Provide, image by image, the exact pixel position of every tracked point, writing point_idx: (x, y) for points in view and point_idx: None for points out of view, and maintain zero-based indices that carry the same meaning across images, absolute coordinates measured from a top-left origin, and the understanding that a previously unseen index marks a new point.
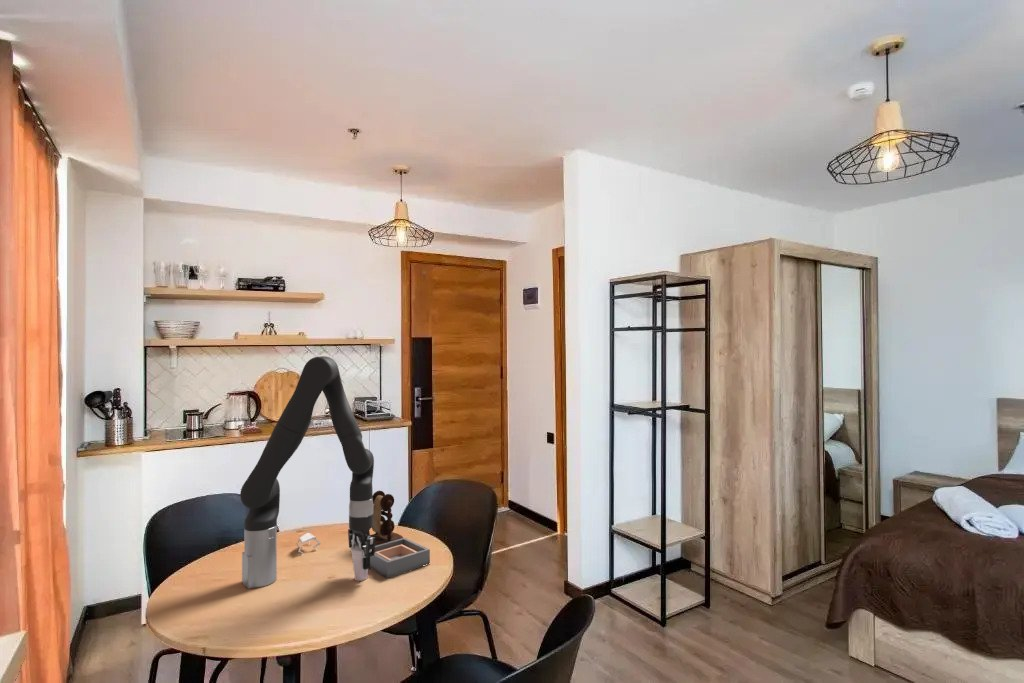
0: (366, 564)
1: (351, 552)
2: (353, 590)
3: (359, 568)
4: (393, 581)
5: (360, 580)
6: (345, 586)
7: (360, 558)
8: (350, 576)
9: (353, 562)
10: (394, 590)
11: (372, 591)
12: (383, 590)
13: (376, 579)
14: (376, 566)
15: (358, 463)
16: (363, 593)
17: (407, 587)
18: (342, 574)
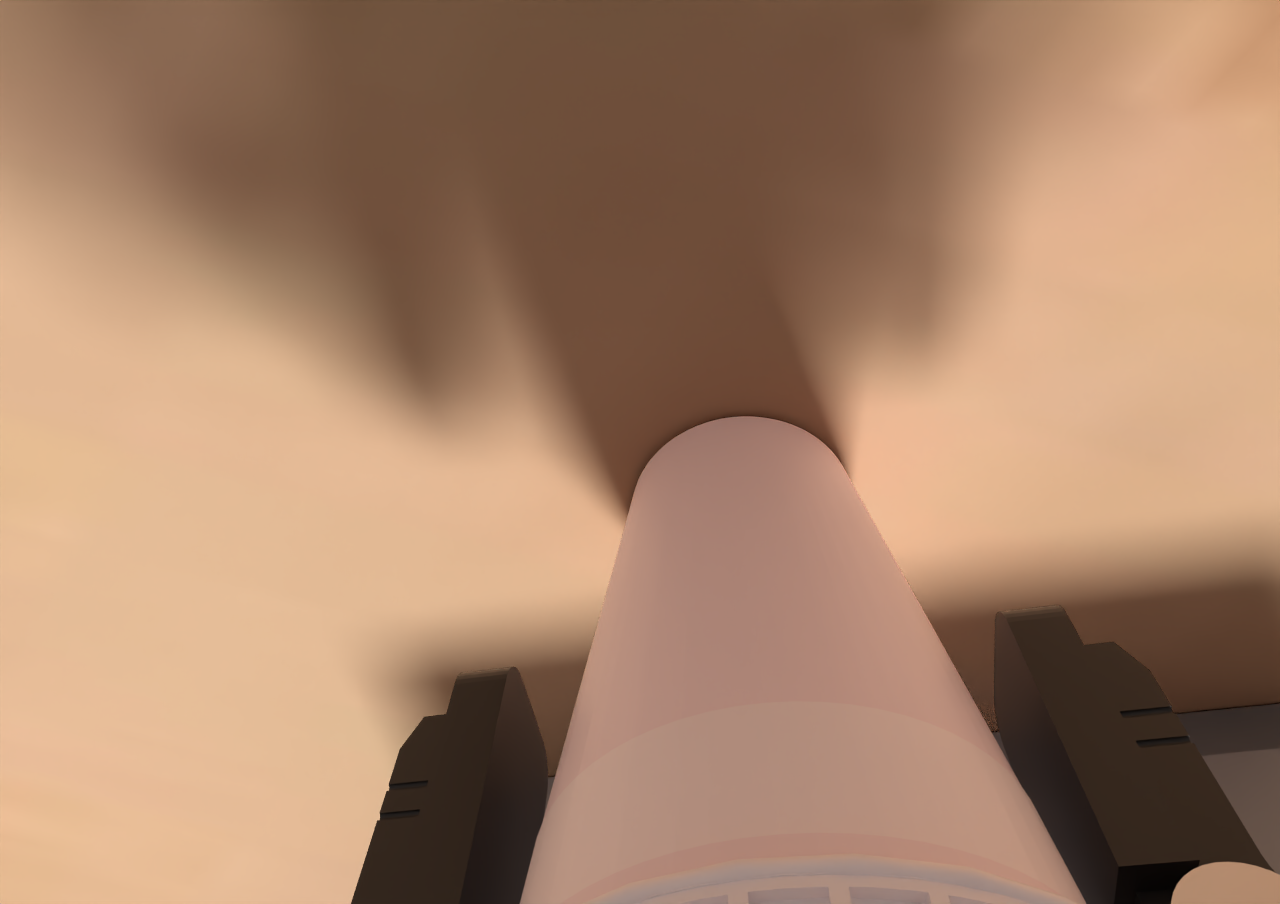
0: (387, 804)
1: (807, 869)
2: (260, 246)
3: (606, 616)
4: (349, 801)
5: (641, 475)
6: (538, 159)
7: (541, 851)
8: (971, 383)
9: (767, 622)
10: (32, 731)
11: (94, 501)
12: (79, 630)
13: (546, 670)
14: None
15: None
16: (55, 361)
17: (81, 854)
18: (1204, 278)
